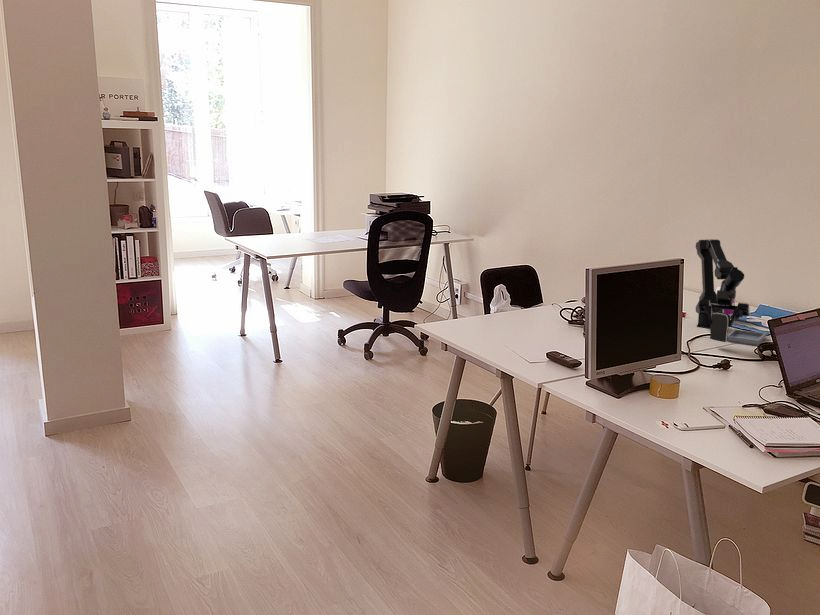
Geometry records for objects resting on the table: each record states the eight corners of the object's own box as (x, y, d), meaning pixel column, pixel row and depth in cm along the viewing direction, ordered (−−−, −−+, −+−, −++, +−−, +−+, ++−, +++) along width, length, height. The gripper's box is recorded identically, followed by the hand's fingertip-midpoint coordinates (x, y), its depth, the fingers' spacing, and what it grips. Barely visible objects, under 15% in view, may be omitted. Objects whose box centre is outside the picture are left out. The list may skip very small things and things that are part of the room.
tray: (725, 341, 290) (726, 336, 290) (734, 334, 299) (734, 329, 299) (758, 345, 282) (758, 340, 282) (765, 338, 292) (765, 333, 291)
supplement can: (734, 317, 325) (737, 286, 321) (732, 321, 318) (734, 289, 315) (716, 315, 329) (718, 284, 326) (713, 319, 323) (715, 288, 319)
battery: (730, 340, 280) (732, 313, 277) (725, 342, 277) (727, 315, 274) (713, 337, 285) (715, 310, 282) (709, 339, 283) (710, 312, 280)
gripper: (700, 280, 284) (692, 312, 278) (750, 284, 273) (743, 317, 267) (703, 294, 292) (696, 326, 286) (752, 299, 282) (745, 332, 276)
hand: (719, 325), depth 278 cm, fingers closed on battery, 7 cm apart
